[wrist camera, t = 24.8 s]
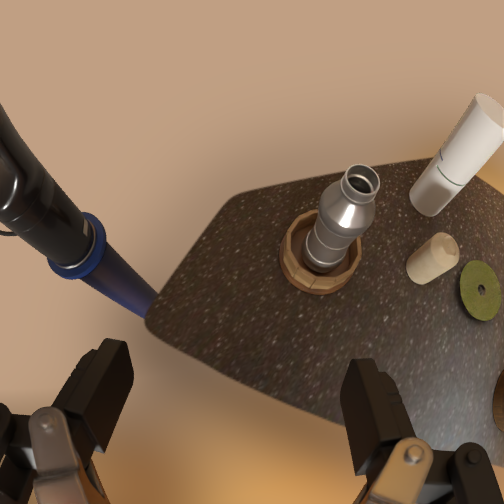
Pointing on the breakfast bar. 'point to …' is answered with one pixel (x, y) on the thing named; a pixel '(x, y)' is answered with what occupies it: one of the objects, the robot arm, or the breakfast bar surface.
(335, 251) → the silver metal bottle
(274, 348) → the breakfast bar surface
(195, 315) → the breakfast bar surface
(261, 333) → the breakfast bar surface
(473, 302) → the mat
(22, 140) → the robot arm
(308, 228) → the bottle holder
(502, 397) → the wooden container
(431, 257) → the candle
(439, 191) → the cylindrical container
